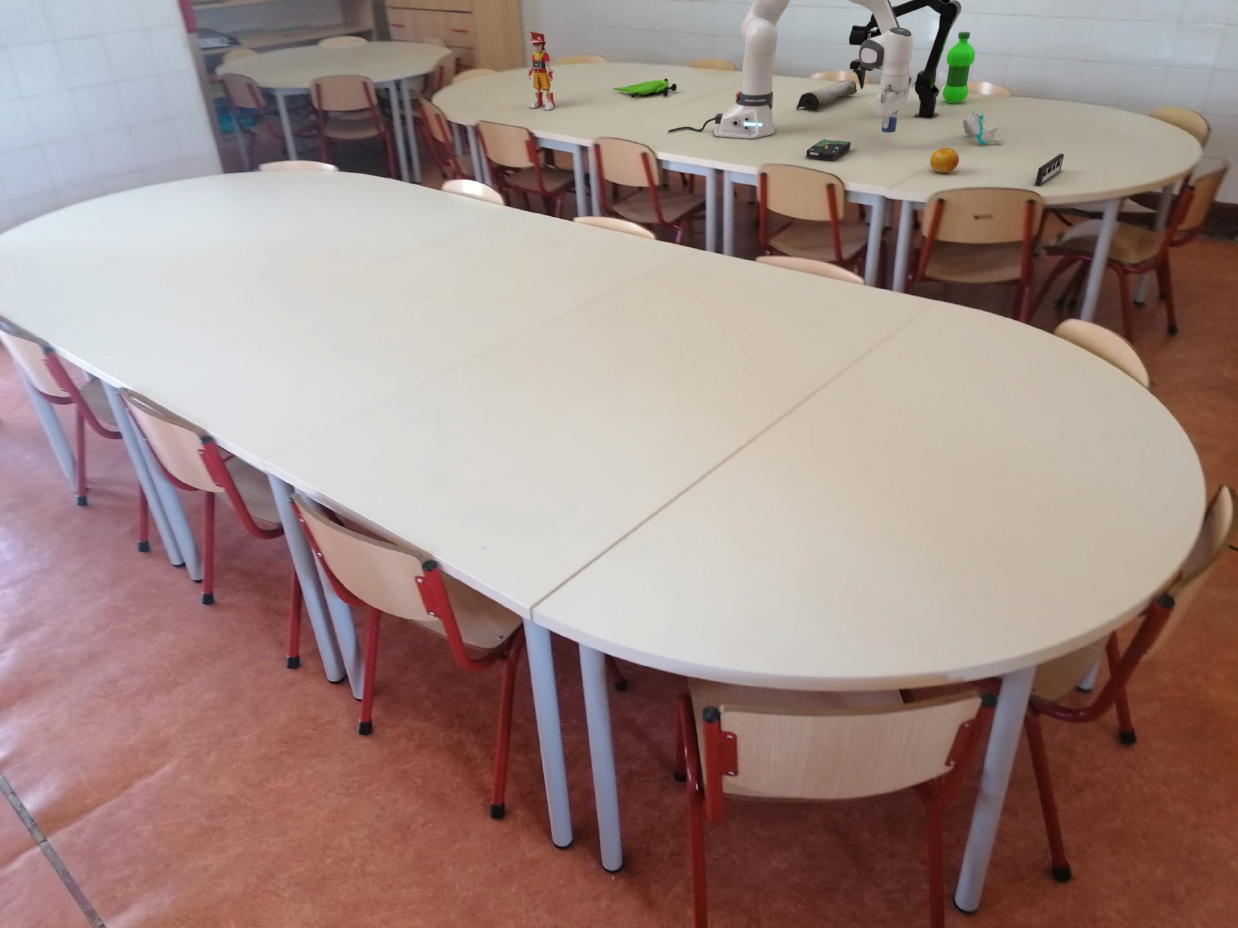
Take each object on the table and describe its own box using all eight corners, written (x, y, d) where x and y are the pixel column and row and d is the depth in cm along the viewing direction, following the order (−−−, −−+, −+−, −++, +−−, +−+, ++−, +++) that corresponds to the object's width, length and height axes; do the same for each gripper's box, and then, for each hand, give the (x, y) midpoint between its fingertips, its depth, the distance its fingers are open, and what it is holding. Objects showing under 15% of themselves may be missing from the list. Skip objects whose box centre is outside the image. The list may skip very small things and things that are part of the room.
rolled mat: (832, 85, 375) (848, 69, 367) (844, 103, 376) (861, 88, 367) (792, 103, 358) (809, 87, 350) (805, 122, 358) (822, 107, 350)
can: (890, 133, 303) (892, 121, 301) (878, 131, 306) (880, 118, 304) (898, 130, 306) (899, 118, 304) (886, 128, 309) (887, 116, 306)
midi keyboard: (1039, 185, 269) (1043, 168, 266) (1035, 184, 270) (1038, 168, 267) (1060, 170, 279) (1064, 154, 277) (1056, 169, 280) (1060, 153, 277)
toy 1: (525, 109, 381) (517, 32, 364) (534, 104, 388) (527, 28, 371) (550, 110, 377) (543, 32, 360) (559, 105, 384) (553, 28, 367)
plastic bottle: (973, 101, 354) (984, 32, 339) (955, 106, 349) (966, 36, 335) (952, 97, 361) (962, 29, 346) (934, 102, 356) (944, 33, 342)
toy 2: (686, 85, 398) (631, 84, 414) (685, 72, 395) (629, 72, 411) (651, 104, 381) (596, 103, 397) (650, 92, 378) (594, 91, 394)
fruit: (924, 163, 281) (941, 140, 278) (925, 165, 289) (941, 143, 286) (946, 178, 280) (963, 155, 277) (947, 180, 288) (963, 158, 285)
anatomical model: (956, 110, 312) (985, 102, 311) (957, 139, 318) (985, 132, 317) (974, 121, 300) (1004, 113, 299) (974, 151, 306) (1003, 144, 305)
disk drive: (834, 162, 299) (850, 149, 309) (835, 153, 297) (851, 141, 307) (805, 158, 304) (821, 146, 314) (806, 150, 302) (822, 138, 312)
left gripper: (892, 90, 289) (886, 134, 297) (914, 77, 302) (908, 119, 310) (873, 88, 292) (868, 132, 300) (895, 75, 305) (890, 117, 313)
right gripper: (844, 48, 337) (840, 92, 345) (890, 52, 326) (885, 97, 335) (858, 43, 343) (854, 86, 352) (904, 46, 333) (898, 91, 342)
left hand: (889, 125), depth 305 cm, fingers closed on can, 4 cm apart
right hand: (872, 90), depth 345 cm, fingers open, 9 cm apart
